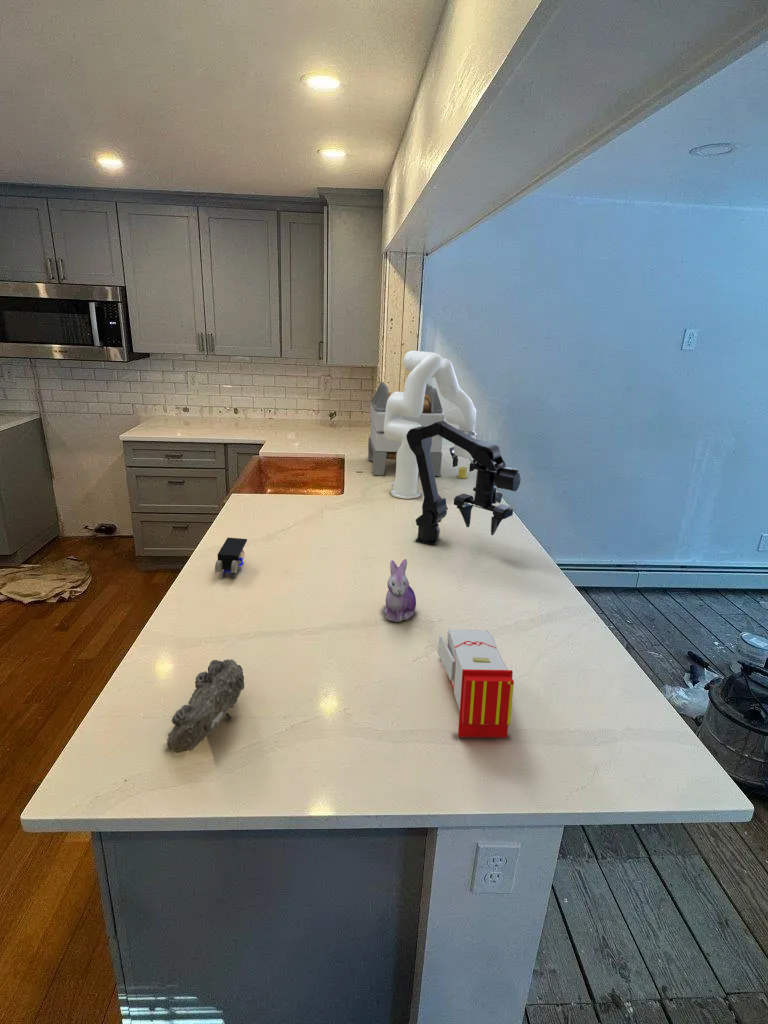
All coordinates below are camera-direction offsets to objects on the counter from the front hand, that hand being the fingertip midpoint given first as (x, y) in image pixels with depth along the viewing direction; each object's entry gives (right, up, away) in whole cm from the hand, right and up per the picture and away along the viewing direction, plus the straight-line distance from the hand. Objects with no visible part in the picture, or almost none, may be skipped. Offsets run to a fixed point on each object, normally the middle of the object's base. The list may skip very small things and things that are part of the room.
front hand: (480, 530), depth 182 cm
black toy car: (-76, -11, -15) cm, 78 cm away
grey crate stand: (-22, +29, +102) cm, 108 cm away
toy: (-13, -32, -64) cm, 72 cm away
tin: (+6, +23, +89) cm, 92 cm away
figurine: (-27, -21, -35) cm, 49 cm away
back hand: (+7, +27, +88) cm, 92 cm away
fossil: (-64, -33, -74) cm, 103 cm away
